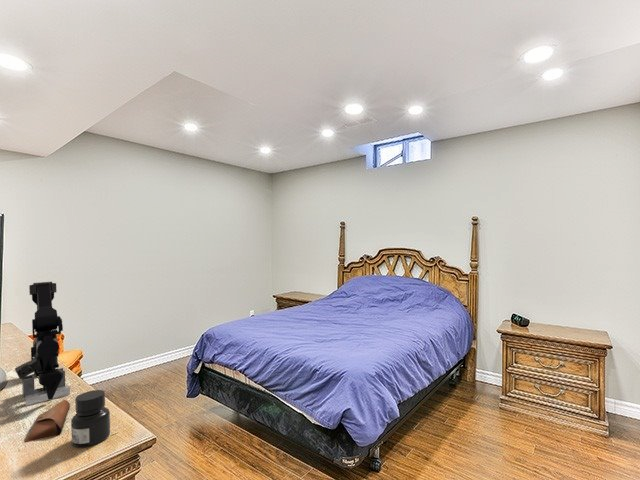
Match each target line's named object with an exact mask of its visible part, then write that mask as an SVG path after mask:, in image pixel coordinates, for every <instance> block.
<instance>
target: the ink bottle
mask: <svg viewBox="0 0 640 480" xmlns="http://www.w3.org/2000/svg"><path fill="white" fill-rule="evenodd" d="M74 402H75V405H74V406H75V412H76V413H75V414H74V416H72V417H71V420H70V421H71V424H70V425H71V426H70V427H71V429H70V430H71V444H72V446H73V447H76V448H86V447H91V446H93V445H97V444H99V443H101V442H103V441H104V440H106V439H107V438H108V437H109V436H110V433H111V416H110V415H111V414H110V413H111V412H110V411H111V410H110V409H109V407H105V405H106V392H105V391H104V390H103V389H93V390H89V391H85V392H83V393H80V394H78V395H76V396H75V400H74Z"/></svg>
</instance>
